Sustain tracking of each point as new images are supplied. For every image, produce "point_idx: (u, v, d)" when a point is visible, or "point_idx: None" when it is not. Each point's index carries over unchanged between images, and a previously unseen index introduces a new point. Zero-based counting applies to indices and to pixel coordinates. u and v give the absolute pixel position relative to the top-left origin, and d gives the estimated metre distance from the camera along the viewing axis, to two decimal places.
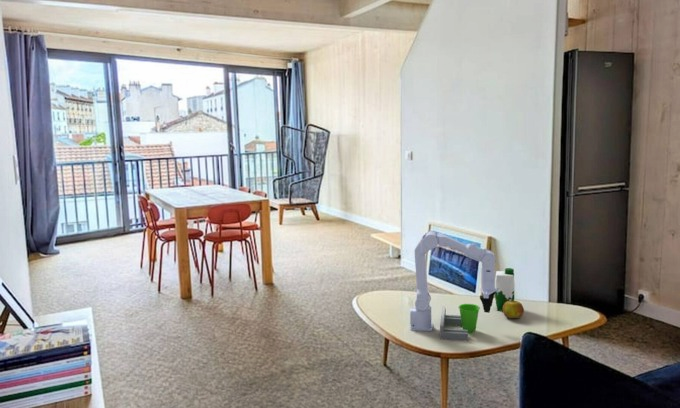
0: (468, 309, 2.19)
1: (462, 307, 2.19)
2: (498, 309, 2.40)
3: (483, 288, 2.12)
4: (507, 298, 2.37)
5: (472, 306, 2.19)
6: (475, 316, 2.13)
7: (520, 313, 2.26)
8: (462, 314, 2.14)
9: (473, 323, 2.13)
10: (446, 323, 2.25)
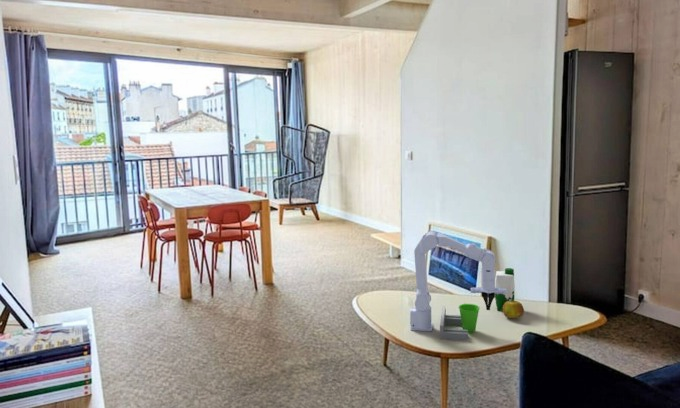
0: (468, 309, 2.19)
1: (462, 307, 2.19)
2: (498, 309, 2.40)
3: None
4: (507, 298, 2.37)
5: (472, 306, 2.19)
6: (475, 316, 2.13)
7: (520, 313, 2.26)
8: (462, 314, 2.14)
9: (473, 323, 2.13)
10: (446, 323, 2.25)
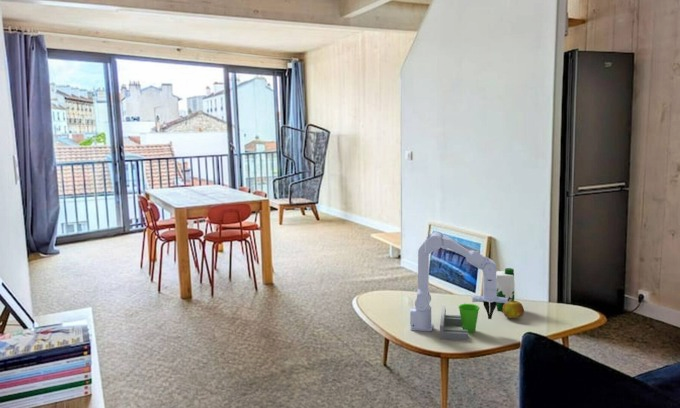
0: (468, 309, 2.19)
1: (462, 307, 2.19)
2: (498, 309, 2.40)
3: None
4: (507, 298, 2.37)
5: (472, 306, 2.19)
6: (475, 316, 2.13)
7: (520, 313, 2.26)
8: (462, 314, 2.14)
9: (473, 323, 2.13)
10: (446, 323, 2.25)
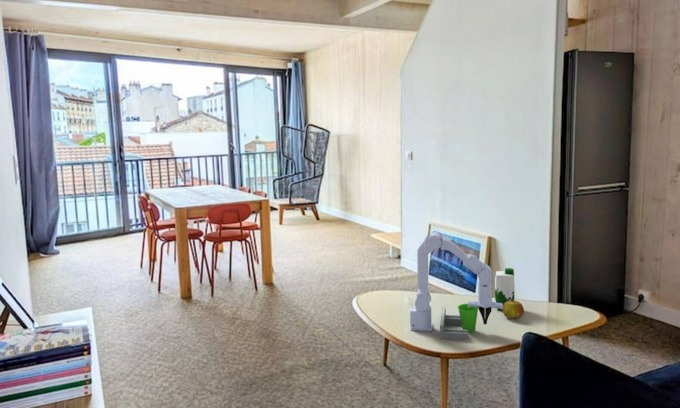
0: (467, 309, 2.19)
1: (461, 307, 2.19)
2: (498, 309, 2.40)
3: None
4: (507, 298, 2.37)
5: None
6: (474, 316, 2.13)
7: (520, 313, 2.26)
8: (461, 314, 2.14)
9: (472, 323, 2.13)
10: (446, 323, 2.25)
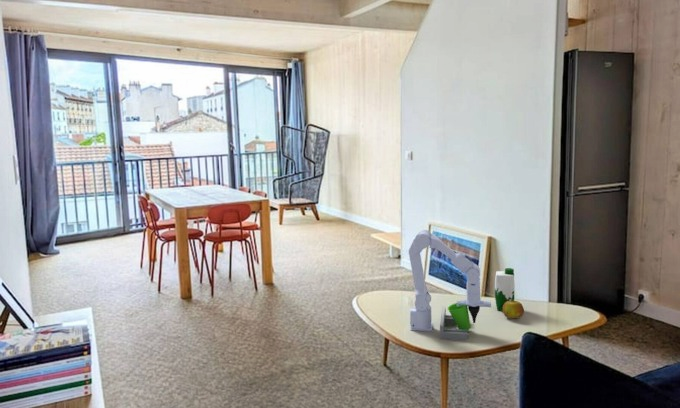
0: (458, 308, 2.20)
1: (452, 307, 2.20)
2: (498, 309, 2.40)
3: None
4: (507, 298, 2.37)
5: None
6: (465, 313, 2.14)
7: (520, 313, 2.26)
8: (452, 314, 2.15)
9: (465, 320, 2.14)
10: (446, 323, 2.25)
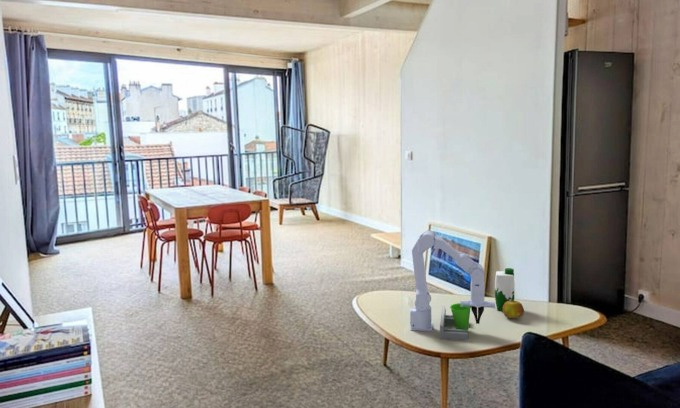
0: (460, 308, 2.20)
1: (454, 307, 2.20)
2: (498, 309, 2.40)
3: None
4: (507, 298, 2.37)
5: None
6: (466, 315, 2.14)
7: (520, 313, 2.26)
8: (454, 314, 2.15)
9: (465, 322, 2.14)
10: (446, 323, 2.25)
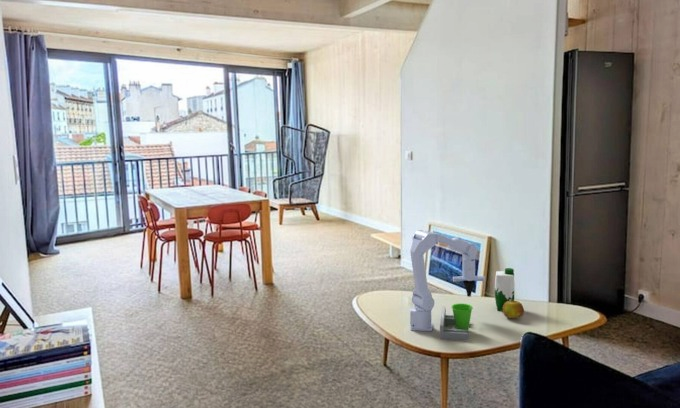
0: (461, 309, 2.20)
1: (455, 307, 2.20)
2: (498, 309, 2.40)
3: None
4: (507, 298, 2.37)
5: (465, 306, 2.19)
6: (468, 316, 2.14)
7: (520, 313, 2.26)
8: (455, 314, 2.15)
9: (466, 323, 2.14)
10: (446, 323, 2.25)
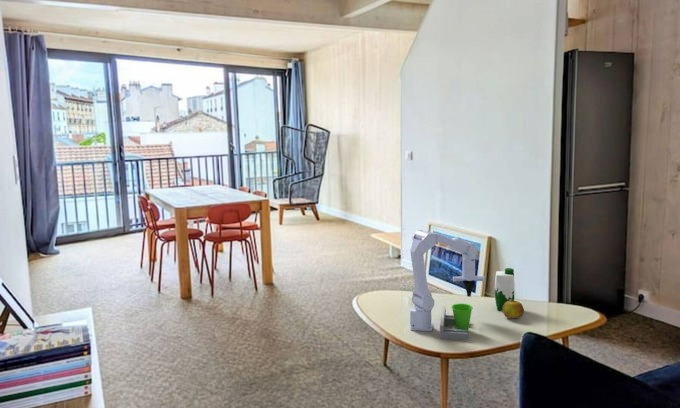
0: (461, 309, 2.20)
1: (455, 307, 2.20)
2: (498, 309, 2.40)
3: None
4: (507, 298, 2.37)
5: (465, 306, 2.19)
6: (468, 316, 2.14)
7: (520, 313, 2.26)
8: (455, 314, 2.15)
9: (466, 323, 2.14)
10: (446, 323, 2.25)
